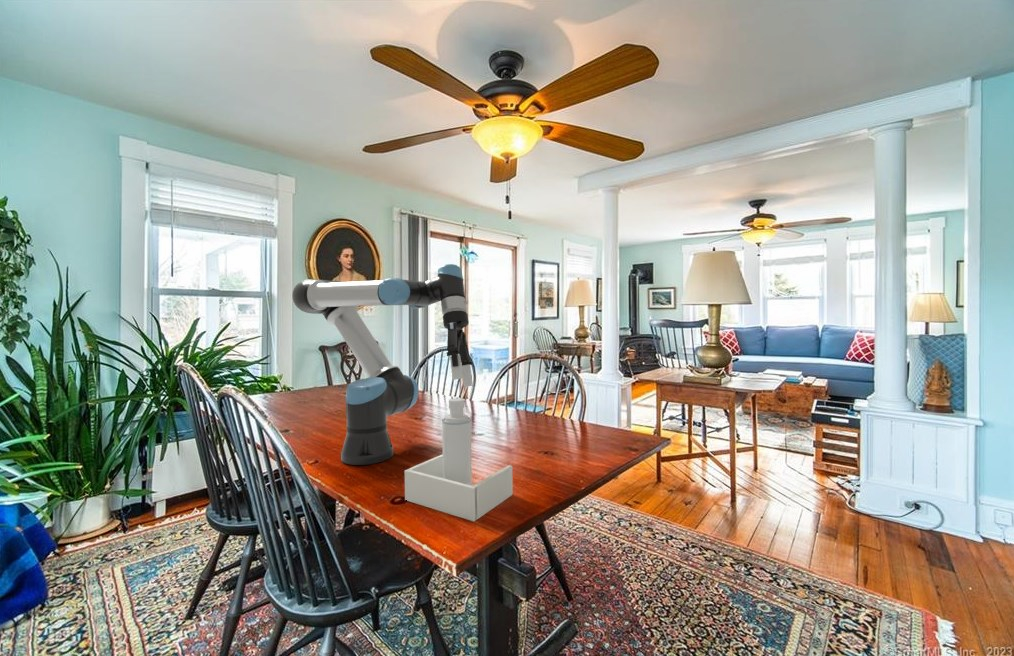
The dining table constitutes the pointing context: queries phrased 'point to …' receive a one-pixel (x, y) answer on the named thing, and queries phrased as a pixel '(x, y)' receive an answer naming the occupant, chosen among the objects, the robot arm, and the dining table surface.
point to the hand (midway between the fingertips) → (463, 382)
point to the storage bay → (456, 490)
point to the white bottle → (457, 444)
